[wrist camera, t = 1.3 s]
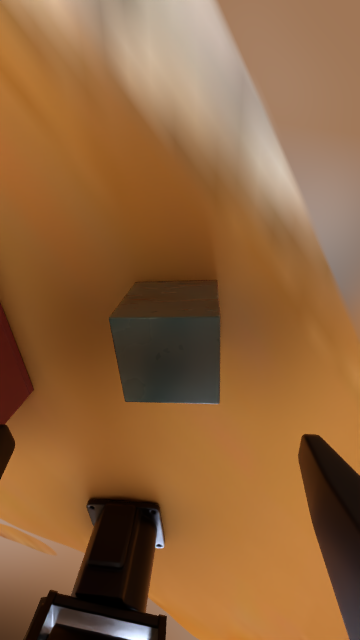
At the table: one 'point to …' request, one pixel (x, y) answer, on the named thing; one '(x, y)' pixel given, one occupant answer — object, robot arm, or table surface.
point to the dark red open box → (11, 373)
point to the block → (169, 342)
